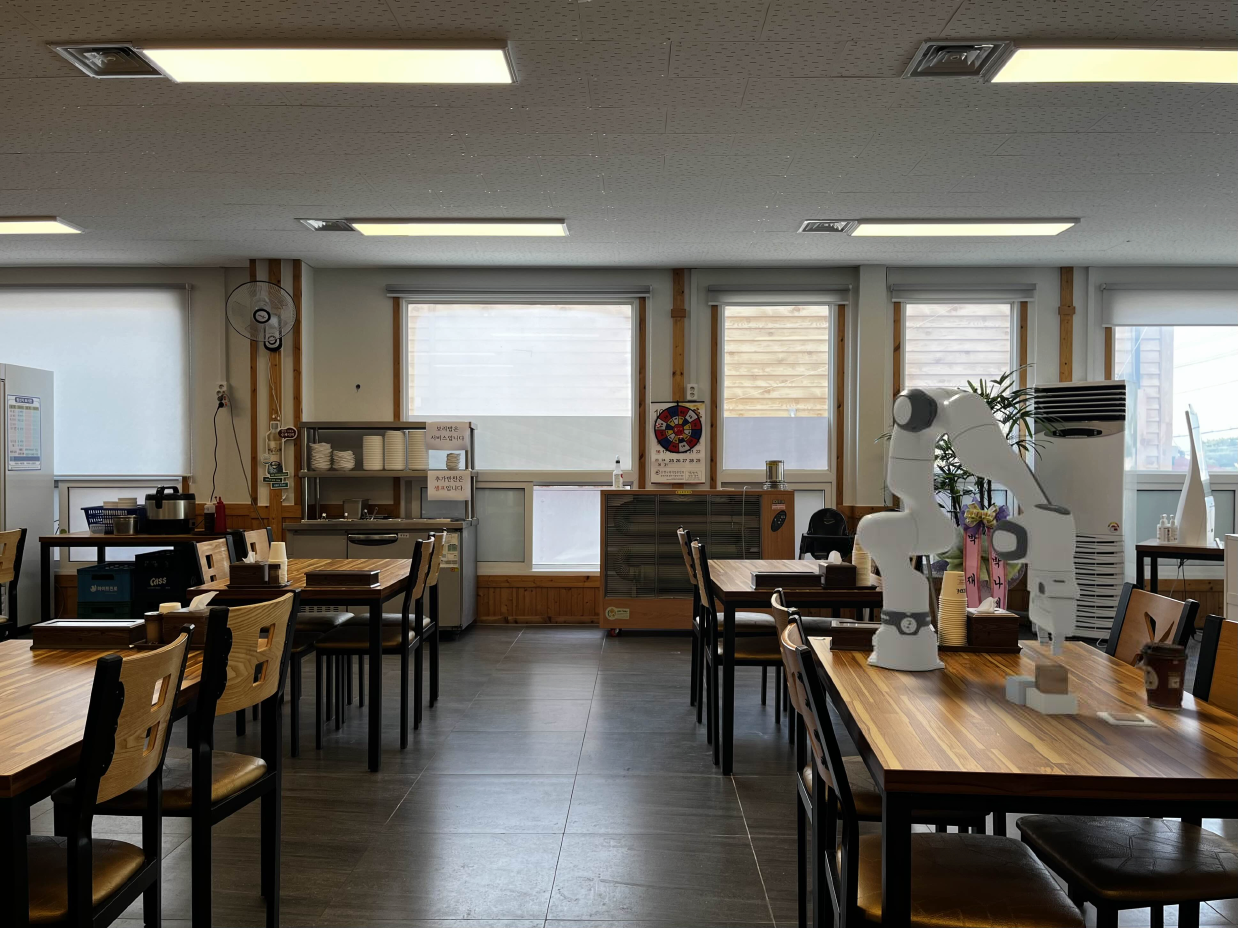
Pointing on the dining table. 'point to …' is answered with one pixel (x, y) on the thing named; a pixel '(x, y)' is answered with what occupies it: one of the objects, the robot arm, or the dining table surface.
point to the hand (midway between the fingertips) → (1049, 650)
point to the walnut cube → (1051, 679)
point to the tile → (1126, 719)
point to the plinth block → (1052, 702)
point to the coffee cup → (1164, 674)
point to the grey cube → (1018, 688)
